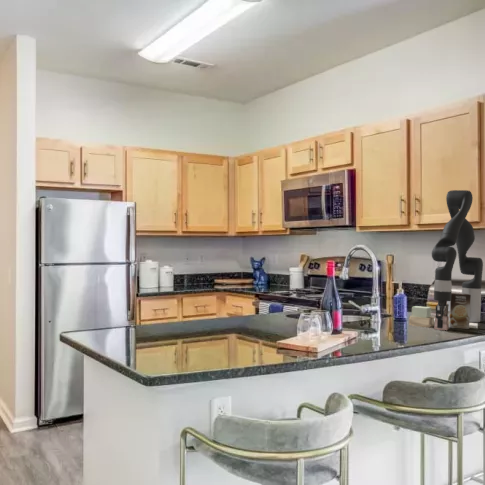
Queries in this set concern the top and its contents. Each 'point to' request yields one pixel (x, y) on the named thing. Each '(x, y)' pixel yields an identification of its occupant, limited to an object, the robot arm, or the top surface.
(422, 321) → the tower base
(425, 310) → the tower mid
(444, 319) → the rose block
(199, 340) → the top surface
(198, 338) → the top surface
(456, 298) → the coffee box
